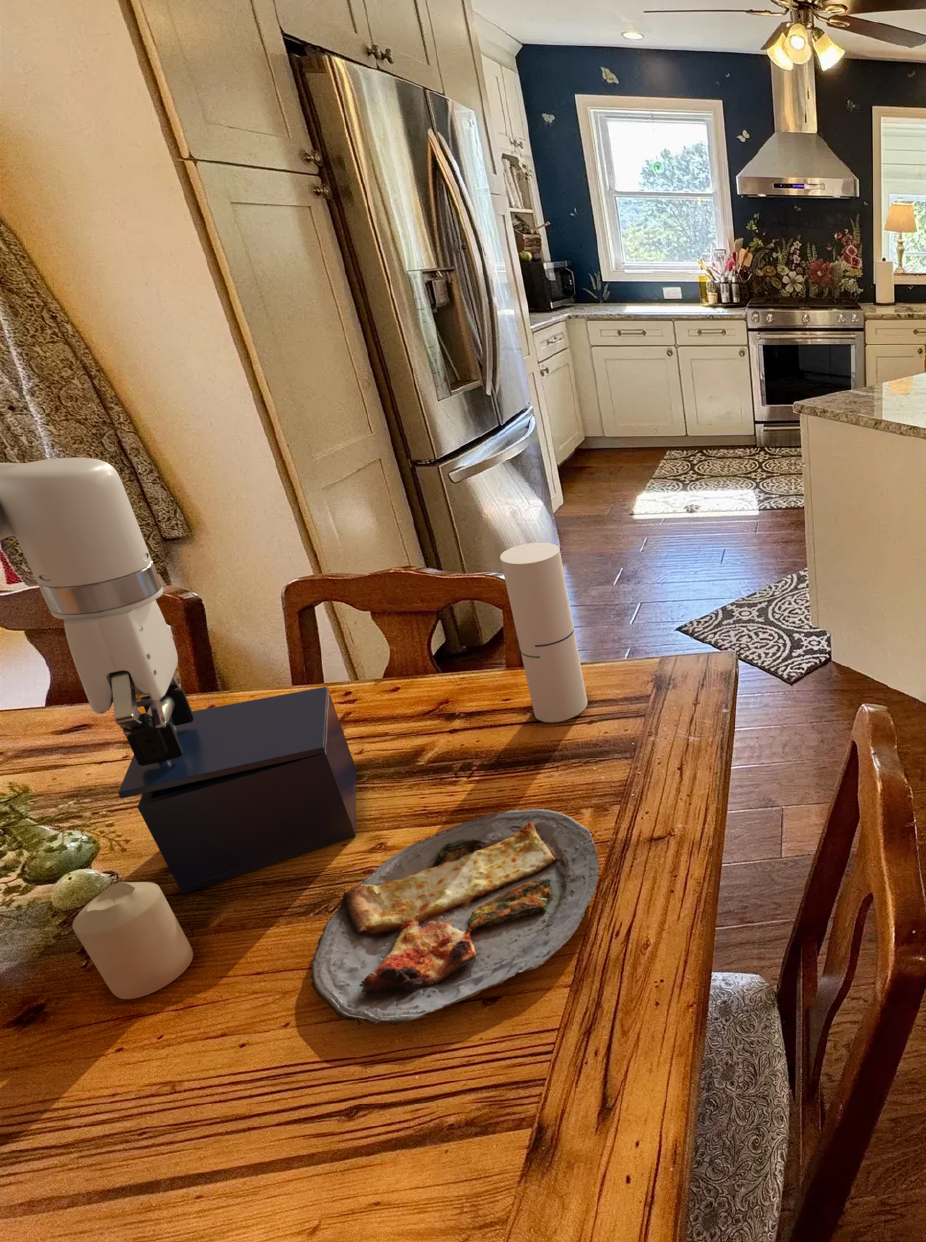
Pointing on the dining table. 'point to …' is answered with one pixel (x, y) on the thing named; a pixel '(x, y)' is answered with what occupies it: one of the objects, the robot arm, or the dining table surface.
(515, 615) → the cylindrical container
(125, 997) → the candle
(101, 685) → the robot arm
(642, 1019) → the dining table surface
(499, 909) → the food plate
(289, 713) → the lid
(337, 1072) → the dining table surface
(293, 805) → the navy blue box
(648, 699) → the dining table surface
